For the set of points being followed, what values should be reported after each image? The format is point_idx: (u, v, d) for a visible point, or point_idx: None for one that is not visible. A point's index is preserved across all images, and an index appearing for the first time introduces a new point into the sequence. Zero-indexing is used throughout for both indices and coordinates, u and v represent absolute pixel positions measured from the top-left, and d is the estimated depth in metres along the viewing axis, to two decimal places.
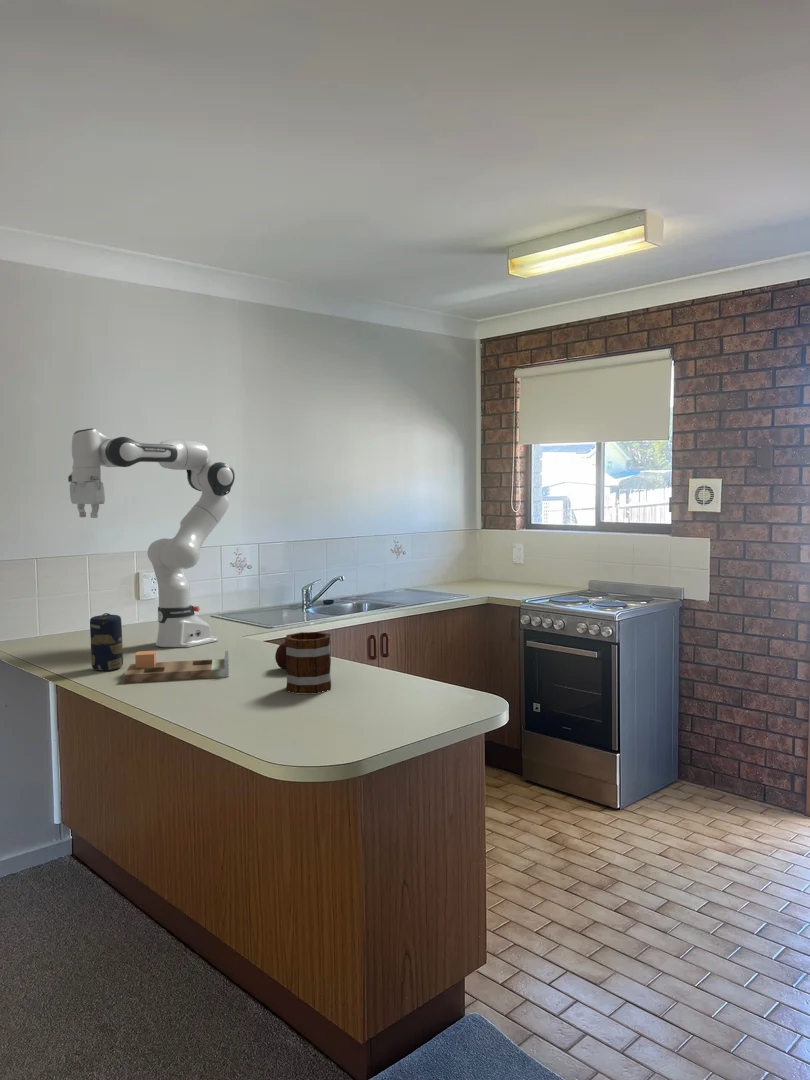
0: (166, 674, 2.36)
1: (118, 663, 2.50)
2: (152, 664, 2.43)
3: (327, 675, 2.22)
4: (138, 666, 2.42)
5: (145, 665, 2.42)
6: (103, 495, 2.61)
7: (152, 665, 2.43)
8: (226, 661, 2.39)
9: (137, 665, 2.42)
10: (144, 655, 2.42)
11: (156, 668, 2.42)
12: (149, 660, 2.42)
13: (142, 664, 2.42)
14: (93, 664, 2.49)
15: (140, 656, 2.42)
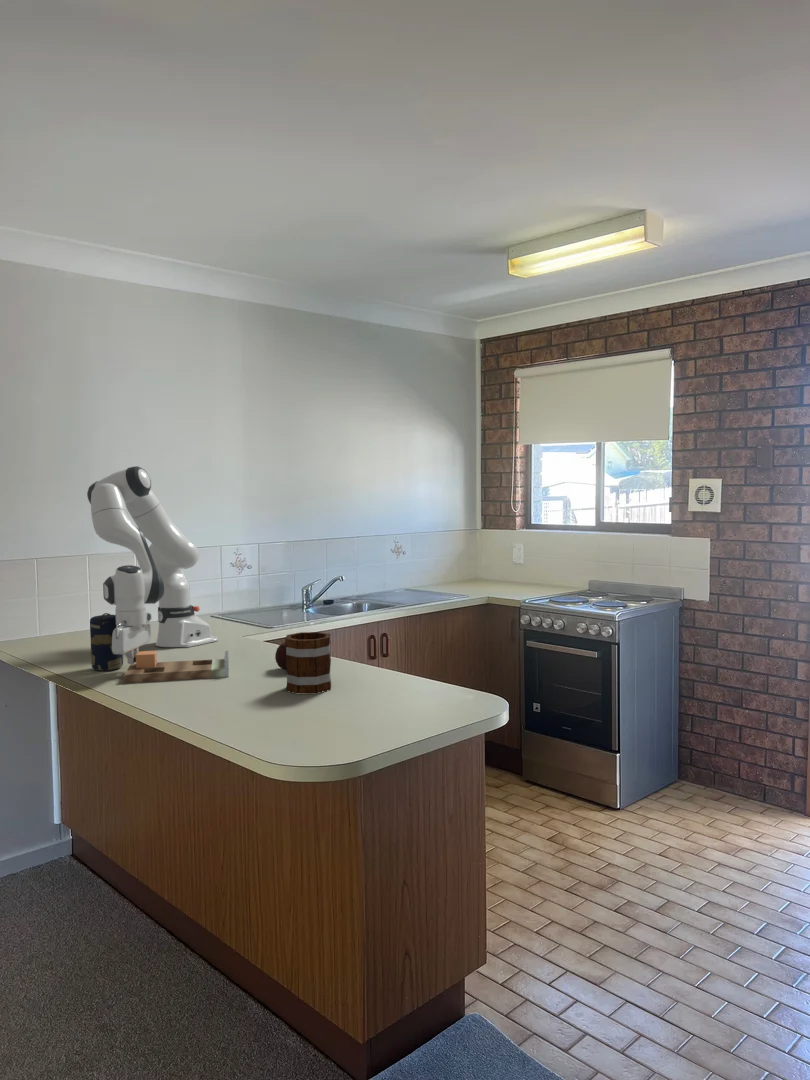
0: (166, 674, 2.36)
1: (118, 663, 2.50)
2: (153, 664, 2.43)
3: (327, 675, 2.22)
4: (139, 666, 2.42)
5: (146, 665, 2.42)
6: (121, 645, 2.34)
7: (153, 665, 2.43)
8: (226, 661, 2.39)
9: (138, 665, 2.42)
10: (145, 655, 2.42)
11: (156, 668, 2.42)
12: (150, 660, 2.42)
13: (143, 663, 2.42)
14: (93, 664, 2.49)
15: (141, 656, 2.42)
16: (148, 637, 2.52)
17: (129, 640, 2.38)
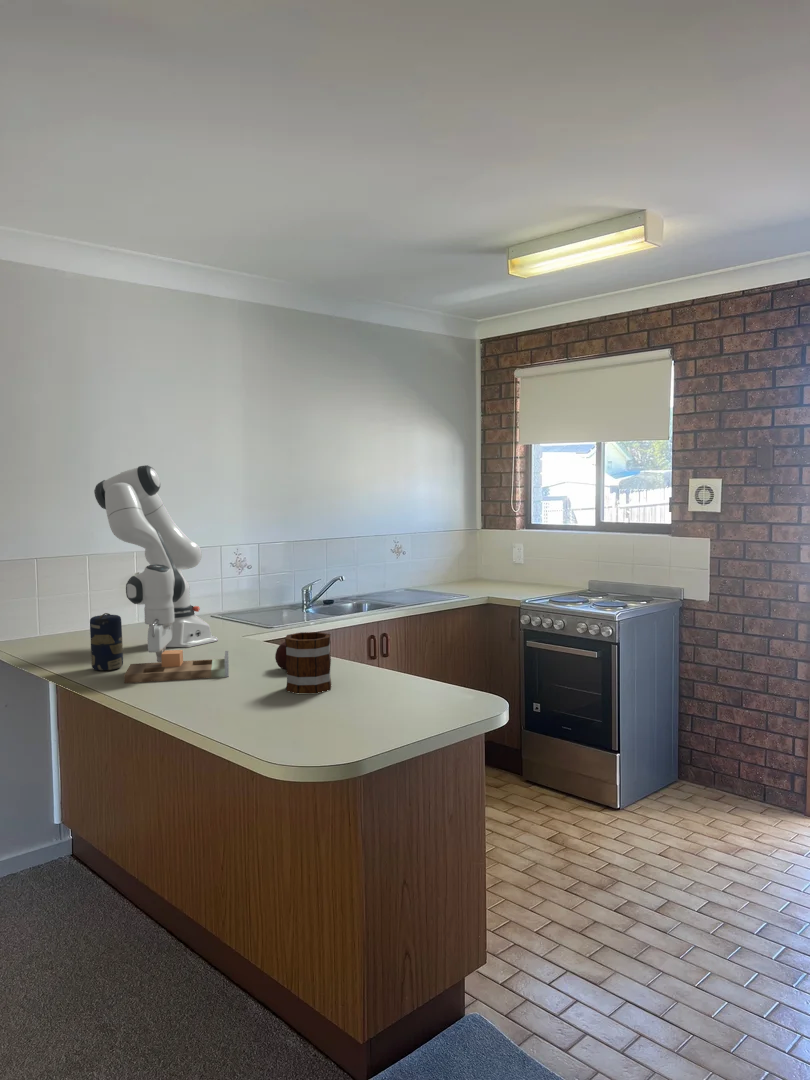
0: (166, 674, 2.36)
1: (118, 663, 2.50)
2: (178, 663, 2.43)
3: (327, 675, 2.22)
4: (164, 665, 2.43)
5: (171, 664, 2.43)
6: (157, 643, 2.36)
7: (178, 664, 2.43)
8: (226, 661, 2.39)
9: (163, 664, 2.43)
10: (170, 654, 2.43)
11: (156, 668, 2.42)
12: (175, 659, 2.43)
13: (168, 663, 2.43)
14: (93, 664, 2.49)
15: (166, 655, 2.43)
16: (171, 635, 2.54)
17: (162, 638, 2.40)
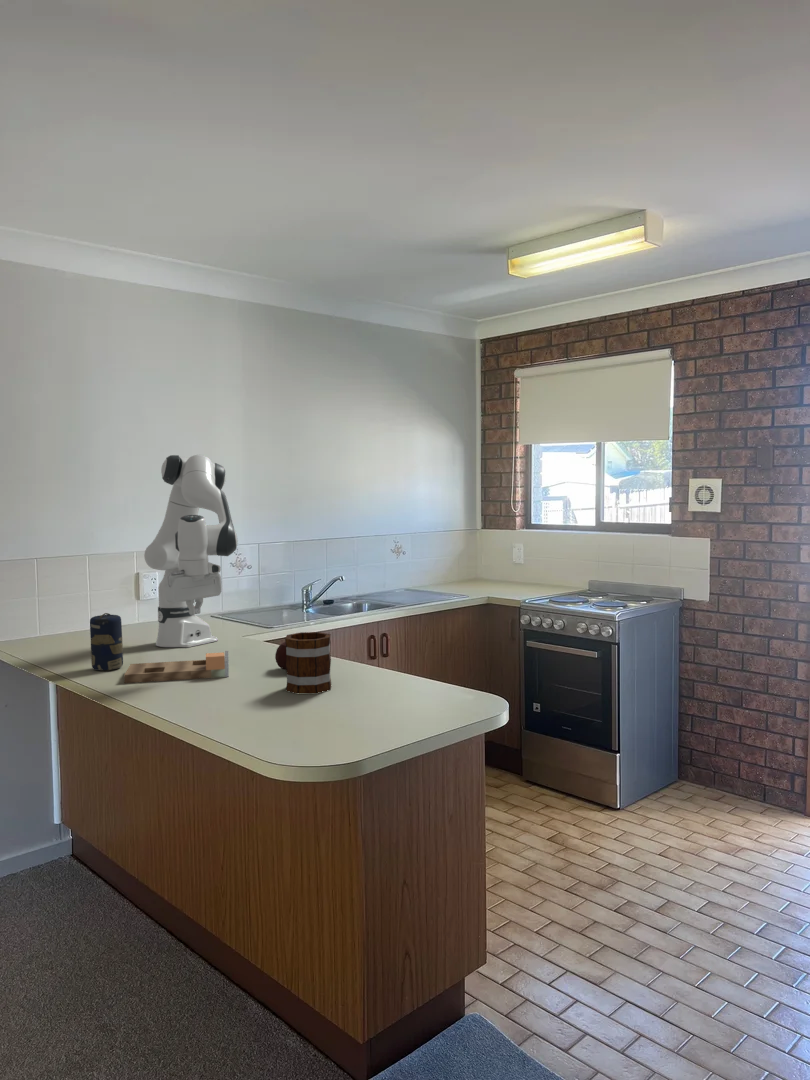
0: (166, 674, 2.36)
1: (118, 663, 2.50)
2: (222, 666, 2.39)
3: (327, 675, 2.22)
4: (208, 668, 2.38)
5: (215, 667, 2.38)
6: (172, 593, 2.30)
7: (222, 667, 2.39)
8: (226, 661, 2.39)
9: (207, 667, 2.38)
10: (214, 657, 2.38)
11: (156, 668, 2.42)
12: (220, 662, 2.39)
13: (213, 666, 2.38)
14: (93, 664, 2.49)
15: (211, 658, 2.38)
16: (217, 590, 2.46)
17: (185, 590, 2.34)
